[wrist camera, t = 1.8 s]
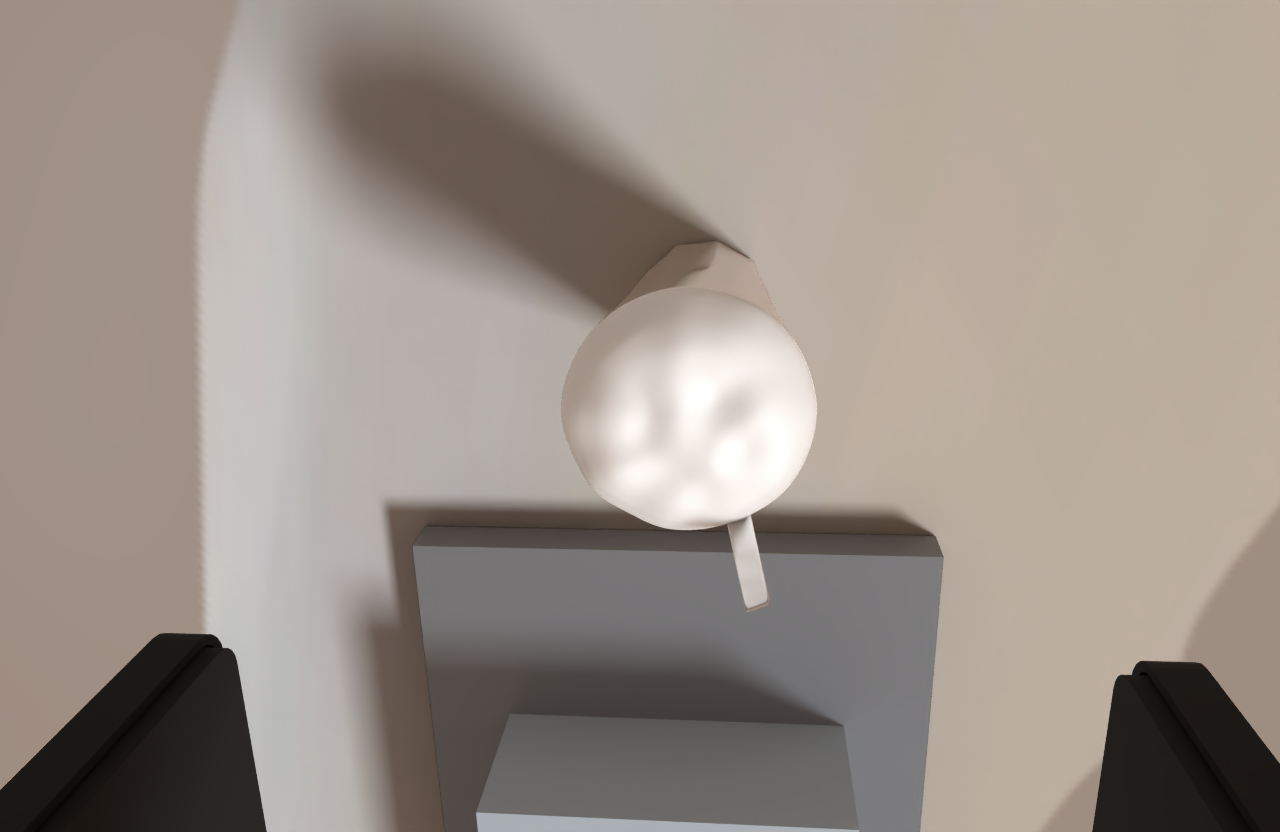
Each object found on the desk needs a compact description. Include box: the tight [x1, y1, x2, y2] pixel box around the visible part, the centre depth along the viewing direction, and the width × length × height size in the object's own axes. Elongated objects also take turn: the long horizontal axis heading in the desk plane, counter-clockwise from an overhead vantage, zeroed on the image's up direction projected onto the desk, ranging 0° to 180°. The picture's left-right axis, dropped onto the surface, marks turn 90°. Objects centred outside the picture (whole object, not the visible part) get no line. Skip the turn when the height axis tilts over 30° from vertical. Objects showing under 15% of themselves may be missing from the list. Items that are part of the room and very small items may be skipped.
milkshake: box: [561, 241, 817, 612], centre depth 21 cm, size 5×5×10 cm
